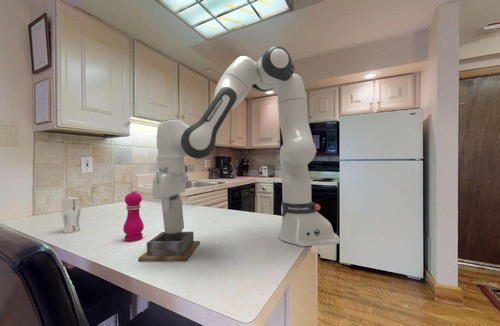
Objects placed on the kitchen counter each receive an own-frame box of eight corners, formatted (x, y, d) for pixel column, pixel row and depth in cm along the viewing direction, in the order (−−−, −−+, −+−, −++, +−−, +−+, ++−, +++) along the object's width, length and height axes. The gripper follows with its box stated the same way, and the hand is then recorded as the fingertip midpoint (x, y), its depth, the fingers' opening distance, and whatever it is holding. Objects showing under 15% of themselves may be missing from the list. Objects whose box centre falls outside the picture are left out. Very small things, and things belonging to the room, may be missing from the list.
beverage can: (177, 236, 72) (174, 201, 70) (160, 234, 74) (157, 200, 72) (187, 227, 78) (184, 195, 76) (172, 226, 80) (169, 194, 78)
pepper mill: (147, 237, 90) (147, 188, 90) (131, 243, 83) (131, 190, 83) (135, 235, 93) (135, 187, 93) (119, 240, 86) (118, 189, 86)
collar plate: (199, 243, 82) (199, 230, 82) (187, 261, 67) (186, 244, 67) (159, 243, 82) (159, 230, 82) (138, 261, 67) (138, 245, 67)
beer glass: (57, 232, 98) (57, 199, 98) (75, 228, 104) (74, 196, 105) (67, 234, 95) (67, 199, 96) (84, 229, 102) (84, 197, 102)
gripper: (167, 168, 64) (168, 215, 64) (189, 167, 84) (189, 203, 84) (146, 168, 64) (146, 215, 64) (173, 167, 85) (173, 203, 85)
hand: (171, 208), depth 74 cm, fingers closed on beverage can, 6 cm apart
